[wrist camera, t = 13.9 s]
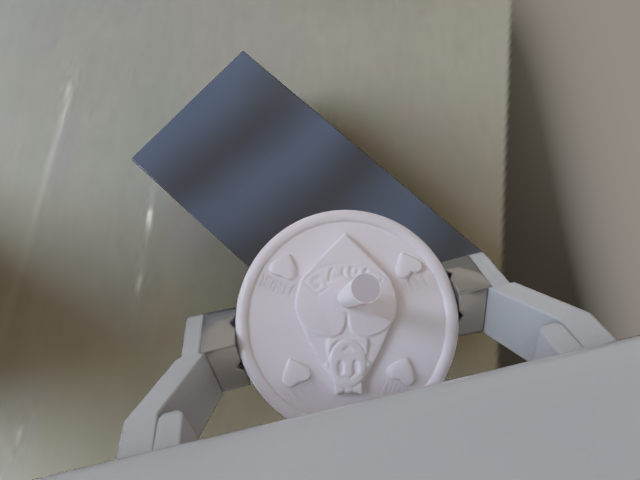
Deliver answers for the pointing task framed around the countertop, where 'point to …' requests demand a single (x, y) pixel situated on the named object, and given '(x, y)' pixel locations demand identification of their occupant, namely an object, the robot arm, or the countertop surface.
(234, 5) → the countertop surface
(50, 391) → the countertop surface
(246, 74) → the wooden step stool
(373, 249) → the smoothie
